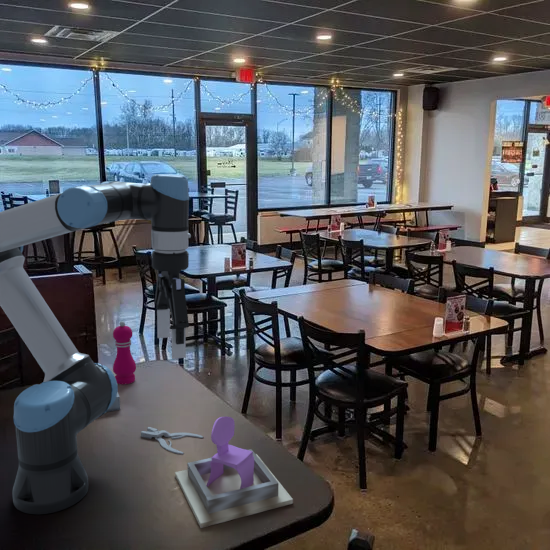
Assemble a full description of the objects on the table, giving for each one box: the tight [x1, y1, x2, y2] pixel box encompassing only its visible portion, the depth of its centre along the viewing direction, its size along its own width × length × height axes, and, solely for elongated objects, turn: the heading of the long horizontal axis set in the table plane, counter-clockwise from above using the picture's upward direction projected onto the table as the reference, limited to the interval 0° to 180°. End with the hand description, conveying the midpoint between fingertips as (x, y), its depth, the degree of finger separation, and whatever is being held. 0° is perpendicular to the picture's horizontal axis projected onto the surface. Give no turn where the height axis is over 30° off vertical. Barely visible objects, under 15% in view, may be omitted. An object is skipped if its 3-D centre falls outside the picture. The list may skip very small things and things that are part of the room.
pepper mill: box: [112, 320, 137, 385], centre depth 181 cm, size 7×7×20 cm
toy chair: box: [206, 416, 254, 489], centre depth 122 cm, size 8×9×15 cm
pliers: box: [140, 426, 204, 455], centre depth 145 cm, size 10×2×15 cm
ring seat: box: [174, 448, 294, 529], centre depth 123 cm, size 20×20×4 cm
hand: (170, 347), depth 122 cm, fingers open, 13 cm apart
